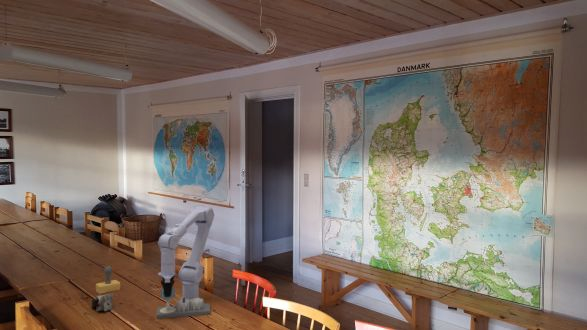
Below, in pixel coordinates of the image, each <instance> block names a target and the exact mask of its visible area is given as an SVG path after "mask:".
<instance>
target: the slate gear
mask: <svg viewBox="0 0 587 330" xmlns="http://www.w3.org/2000/svg"><path fill="white" fill-rule="evenodd" d="M175 297H176V288H174V286H172V291H171V296H170V297H165V295H164V289H163V288H162V289H160V299H162V300H166V301H167V300H169V301H170V300H173V299H174V298H175Z"/></svg>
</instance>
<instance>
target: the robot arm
mask: <svg viewBox="0 0 587 330" xmlns="http://www.w3.org/2000/svg"><path fill="white" fill-rule="evenodd" d="M214 218H215V212H214V209H213V208H212V207H205V206H203V207H201V206H197V205H196V206H193V207H191V209H190V210H189V214H188V215H187V216H186V217H185V218H184V220H183V221H182V222H181V223H175V224H174V225H173V227H172V228H171V229H170V230H169V231H168V232H167V233H165V234H161V236H160V237H159V238H158V242H157V244H158V247H159V251H160V272H158V274H157V275H158V277H159V276H161V279H162V280H160V284H161V287H162V289H164V295H165V297H170V296H171V291H172V287H174V284H175V281H176V280H174V279H175V277H176V248H177V247H178V245H179V242H180V240H181V239H182V238H183V237H184V236H185V235H186V234H187V229H189V228H190V227H191V226H192V225H193V224H195V225H196V226H197V228H198V229H197V231H196V235H195V238H194V242H193V245H192V248H191V250H190V255H189V257H188V260H187V261H185V262H184V263H182V266H181V268H179V269H180V270H179V271H178V279H179V281H180V282H181V284H182V297H181V299H183V298H185V299H189V300H190V299H193V298H200V296H199V285H200V283H201V281H203V276H204V273H203V272H204V267H203V266H202V264H201V260H202V258H203V257H202V256H203V253H204V250H205V246H206V243H207V240H208V237H209V233H210V231H211V227H212V226H213V222H214Z"/></svg>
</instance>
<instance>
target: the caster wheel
mask: <svg viewBox="0 0 587 330" xmlns="http://www.w3.org/2000/svg"><path fill="white" fill-rule="evenodd" d="M113 294H114V293H112V292H110V293H105V294H104V295H100V294H99V295H95V299H92V300H91V307H96V308H95V309H96V310H95V311H96V312H99V311H104V312H108V311H110V310H113V309H114V299H113V298H114V297H113V296H114V295H113Z"/></svg>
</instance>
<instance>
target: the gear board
mask: <svg viewBox="0 0 587 330" xmlns="http://www.w3.org/2000/svg"><path fill="white" fill-rule="evenodd" d="M170 303H171V301H170V299H169V300H167V299H166V301H165V305H164V306H157V310H156V316H155V317H156V319H158V320H159V319H169V318H171V319H172V318H180V317H181V318H182V317H193V316H205V315H211V307H210V303H209V302H208V303H204V298H201V297H199V298H193V299H190V300H189V299H185V298H183V299H182V298H179V299H178V300H176V305H170Z"/></svg>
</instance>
